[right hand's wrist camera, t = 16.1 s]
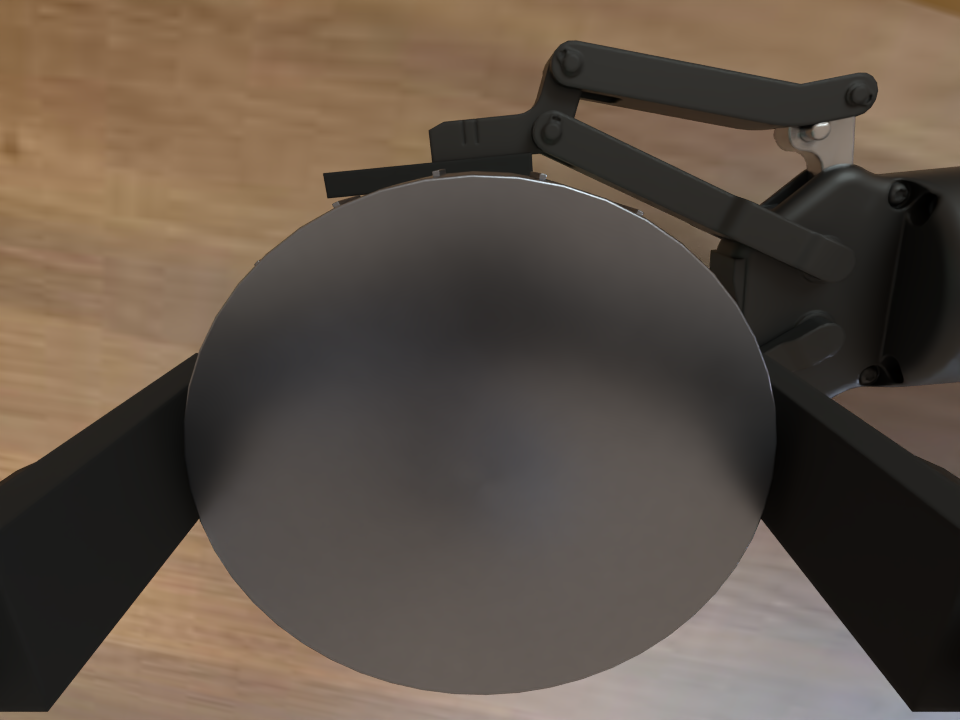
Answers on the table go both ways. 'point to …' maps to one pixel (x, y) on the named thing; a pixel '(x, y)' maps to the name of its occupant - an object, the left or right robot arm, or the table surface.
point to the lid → (480, 433)
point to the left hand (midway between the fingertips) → (361, 329)
